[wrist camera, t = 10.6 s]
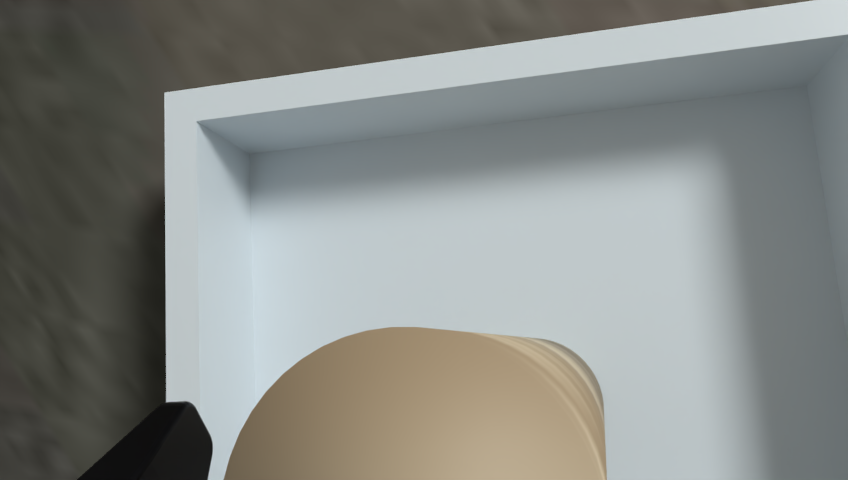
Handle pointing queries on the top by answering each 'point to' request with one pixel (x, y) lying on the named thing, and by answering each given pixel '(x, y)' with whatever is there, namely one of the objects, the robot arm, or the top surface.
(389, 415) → the dowel
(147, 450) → the robot arm
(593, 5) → the top surface
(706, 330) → the tray
